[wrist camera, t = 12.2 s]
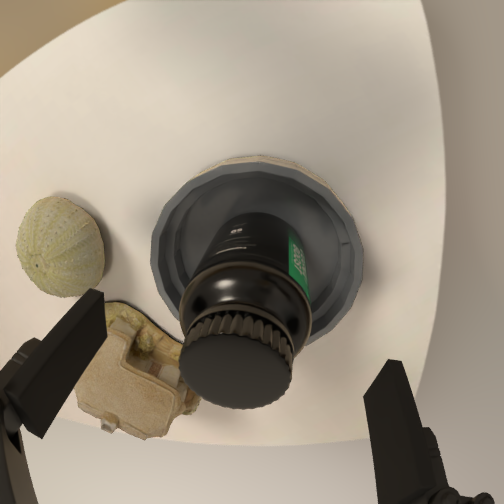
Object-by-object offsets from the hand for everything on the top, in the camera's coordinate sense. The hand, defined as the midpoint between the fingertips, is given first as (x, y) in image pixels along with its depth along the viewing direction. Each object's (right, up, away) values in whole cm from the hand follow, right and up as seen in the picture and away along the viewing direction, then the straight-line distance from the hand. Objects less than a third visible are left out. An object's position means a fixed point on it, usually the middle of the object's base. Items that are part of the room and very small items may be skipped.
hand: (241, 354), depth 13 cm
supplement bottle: (+1, +4, +10) cm, 11 cm away
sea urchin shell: (-16, +6, +12) cm, 21 cm away
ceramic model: (-10, -6, +17) cm, 20 cm away
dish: (+1, +5, +10) cm, 11 cm away
